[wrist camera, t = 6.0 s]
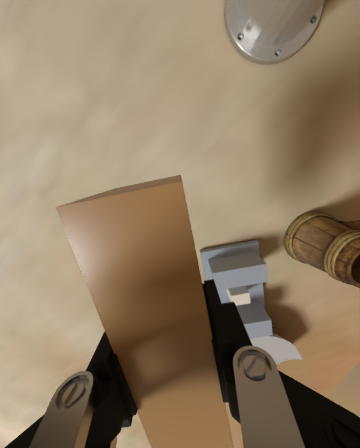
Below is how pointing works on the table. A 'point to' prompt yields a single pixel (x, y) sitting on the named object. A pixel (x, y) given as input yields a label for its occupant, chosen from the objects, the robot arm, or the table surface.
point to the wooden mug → (326, 245)
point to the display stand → (240, 282)
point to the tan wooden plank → (152, 307)
